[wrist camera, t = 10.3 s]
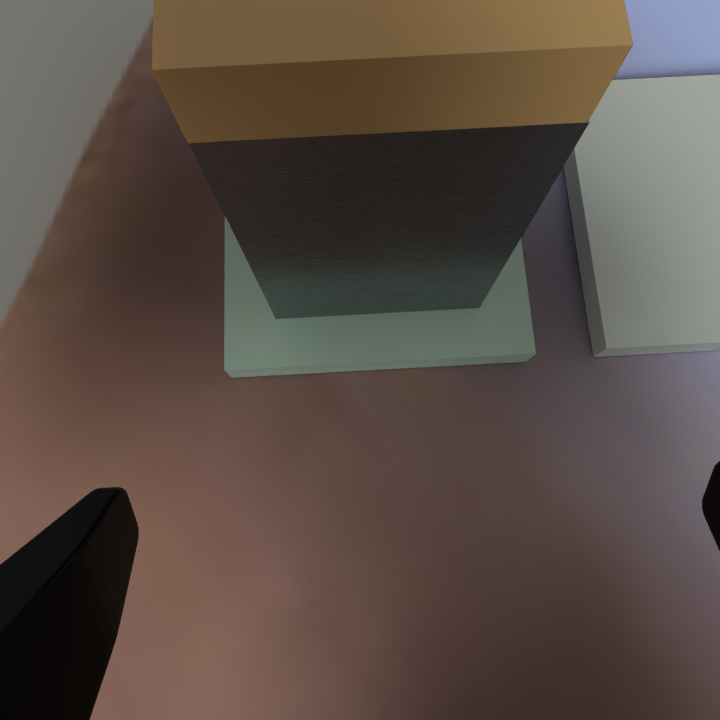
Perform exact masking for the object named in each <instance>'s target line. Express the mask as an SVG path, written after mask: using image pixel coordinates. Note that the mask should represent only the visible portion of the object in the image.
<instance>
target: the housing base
mask: <svg viewBox="0 0 720 720" xmlns="http://www.w3.org/2000/svg"><path fill="white" fill-rule="evenodd" d="M589 123H590V122H589V121H588V122H585V123H566V124H546V125H527V126H508V127H489V128H470V129H451V130H431V131H412V132H393V133H374V134H355V135H335V136H316V137H297V138H278V139H259V140H240V141H220V142H201V143H190V145H191V147H192V149H193V151H194V153H195V156H196V158H197V160H198V162H199V164H200V166H201V168H202V170H203V172H204V174H205V176H206V178H207V180H208V182H209V184H210V186H211V188H212V190H213V192H214V194H215V196H216V198H217V200H218V202H219V204H220V207H221V209H222V211H223V213H224V215H225V217H226V219H227V221H228V223H229V225H230V227H231V229H232V231H233V233H234V235H235V237H236V239H237V241H238V243H239V245H240V247H241V249H242V251H243V253H244V255H245V257H246V260H247V262H248V264H249V266H250V268H251V270H252V272H253V274H254V276H255V278H256V280H257V282H258V284H259V286H260V288H261V290H262V292H263V294H264V296H265V298H266V300H267V302H268V304H269V306H270V308H271V310H272V313H273V315H274V317H275V319H288V318H306V317H324V316H343V315H361V314H379V313H398V312H416V311H434V310H453V309H471V308H480V306H481V305H482V303H483V301H484V299H485V298H486V296H487V294H488V293H489V291H490V289H491V288H492V286H493V284H494V283H495V281H496V279H497V278H498V276H499V274H500V273H501V271H502V269H503V267H504V266H505V264H506V262H507V261H508V259H509V257H510V256H511V254H512V252H513V251H514V249H515V247H516V246H517V244H518V242H519V240H520V239H521V237H522V235H523V234H524V232H525V230H526V229H527V227H528V225H529V224H530V222H531V220H532V219H533V217H534V215H535V214H536V212H537V210H538V208H539V207H540V205H541V203H542V202H543V200H544V198H545V197H546V195H547V193H548V192H549V190H550V188H551V187H552V185H553V183H554V182H555V180H556V178H557V176H558V175H559V173H560V171H561V170H562V168H563V166H564V165H565V163H566V161H567V160H568V158H569V156H570V155H571V153H572V151H573V149H574V148H575V146H576V144H577V143H578V141H579V139H580V138H581V136H582V134H583V133H584V131H585V129H586V128H587V126H588V124H589Z"/></svg>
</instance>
